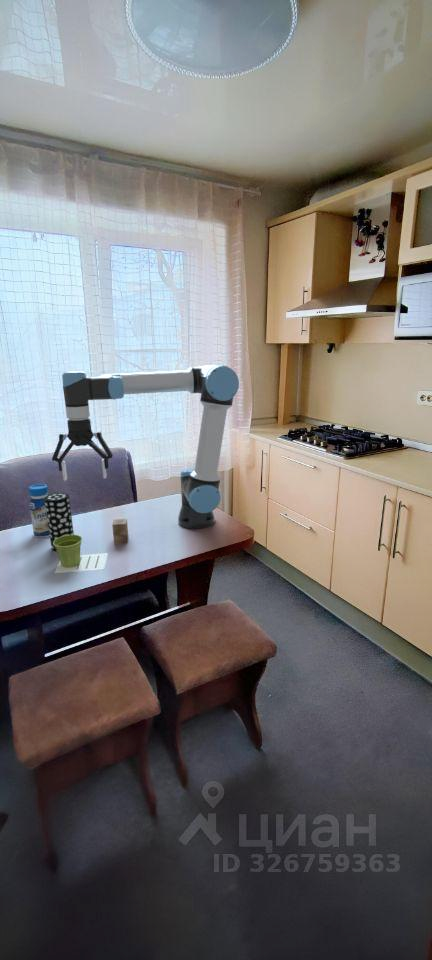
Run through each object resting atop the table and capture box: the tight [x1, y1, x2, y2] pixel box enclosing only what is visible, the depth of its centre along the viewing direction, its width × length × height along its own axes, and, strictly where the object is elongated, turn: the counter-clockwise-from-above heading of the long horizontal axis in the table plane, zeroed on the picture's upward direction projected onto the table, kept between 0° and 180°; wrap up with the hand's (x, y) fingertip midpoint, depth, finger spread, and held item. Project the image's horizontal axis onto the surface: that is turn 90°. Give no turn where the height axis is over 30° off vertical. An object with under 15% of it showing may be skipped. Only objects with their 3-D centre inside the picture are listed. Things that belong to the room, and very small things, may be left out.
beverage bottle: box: [28, 483, 50, 539], centre depth 171 cm, size 8×8×20 cm
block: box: [111, 518, 129, 545], centre depth 165 cm, size 5×5×8 cm
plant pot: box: [53, 534, 83, 567], centre depth 148 cm, size 9×9×9 cm
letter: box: [54, 552, 109, 574], centre depth 149 cm, size 16×12×1 cm
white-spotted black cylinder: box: [44, 492, 75, 553], centre depth 159 cm, size 8×8×20 cm
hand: (85, 478), depth 153 cm, fingers open, 13 cm apart
